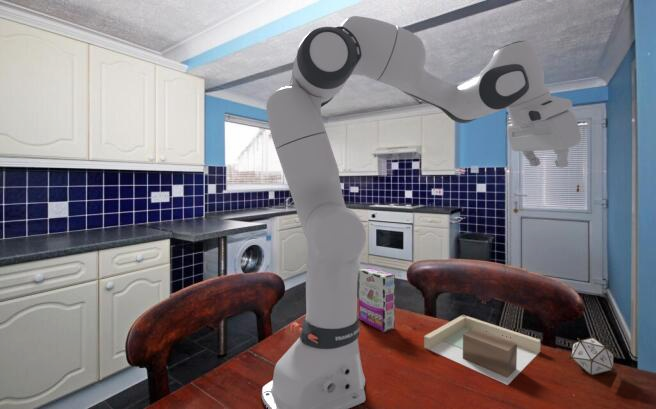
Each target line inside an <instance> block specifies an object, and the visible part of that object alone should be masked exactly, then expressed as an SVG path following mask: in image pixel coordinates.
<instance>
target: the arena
mask: <svg viewBox="0 0 656 409" xmlns="http://www.w3.org/2000/svg"><path fill="white" fill-rule="evenodd" d="M463 325H464V326H463ZM472 328H474V329H477V330H480V331H483V332H486V331H487V332H486V333H489V334H491V335H494V336H497V337H500V338H503V339H506V340H509V341H512V342H514V343H517V363H516V370H515V371H514V372H513V373H512V374H511V375H510V376H509V377H508V378H506V377H504V376H502V375H500V374H497V373H495V372H493V371H490V370H488V369H486V368H483V367H481V366H479V365H477V364H474V363H472V362H470V361H467V360H465V359H463V334H465V333H466V332H468V331H469V330H471V329H472ZM502 335H503V336H502ZM506 336H507V337H506ZM510 337H511V338H510ZM423 338H424V340H423V348H424V349H425V350H429V351H431V352H433V353H435V354H437V355H439V356H442V357H444V358H447V359H449V360H451V361H454V362H455V363H458V364H460V365H462V366H464V367H466V368H468V369H471V370H473V371H475V372H478V373H480V374H481V375H484V376H486V377H489V378H490V379H493V380H495V381H498V382H500V383H502V384H504V385H506V386H509V384H511V382H512V381H513V380H514V379H515V378H516V377H517V376H518V375H519V374H521V372H522V371H523V370H524V369H525V368H527V366H528V365H529V364H530V363H531V362H532V361H533V360H534V359H535V358H536V357H537V356H538V355H539V354H540V352H541V339H540V338H535V337H533V336H530V335H526V334H523V333H521V332H517V331H514V330H511V329H508V328H505V327H502V326H498V325H497V324H493V323H489V322H486V321H483V320H481V319H478V318H474V317H470V316H468V315H465V314H462V315H460V316H458V317H456V318H454V319H453V320H451V321H449V322H447V323H445V324H443V325H442V326H440V327H438V328H437V329H435V330H432V331H431V332H429V333H427V334H425V335H424V336H423Z"/></svg>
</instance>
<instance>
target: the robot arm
mask: <svg viewBox="0 0 656 409" xmlns="http://www.w3.org/2000/svg"><path fill="white" fill-rule="evenodd" d="M426 59H427V56H426V49H425V44H424V43H423V41H422V38H421V37H419V36H418V35H416V34H415V33H414V32H412V31H410V30H408V29H405V28H403V27H400V26H398V25H395V24H393V23H390V22H387V21H383V20H379V19H375V18H370V17H365V16H360V15H359V16H358V15H353V16H349V17H347V18H346V19H345V20H344V21H343V22H342V23H341V24H340V25H339V26H335V27H334V26H322V27H318V28H315V29H313V30H311V31H310V32H309V33H308V34H306V36H304V38H303V39H302V41H301V42H300V44H299V46H298V48H297V52H296V57H295V58H294V61H293V64H292V71H291V78H290V83H289V84H288V85H287V86H285V87H281V88H279V89H277V90H276V91H274V92H273V93H272V94H271V95H270V96H269V97H268V99H267V102H266V106H265V107H266V115H267V121H268V126H269V130H270V134H271V135H270V136H271V139H272V142H273V145H274V146H273V147H274V149H275V151H276V154H277V157H278V161H279V163H280V166H281V169H282V171H283V175H284V178H285V180H286V183H287V186H288V189H289V192H290V195H291V198H292V202H293V204H294V207H295V211H296V213H297V216H298V219H299V222H300V225H301V229H302V232H303V235H304V236H305V238H306V243H307V255H306V256H307V261H306V262H307V263H306V278H305V279H306V280H305V300H306V301H305V303H306V304H305V305H306V306H305V308H306V310H305V311H306V315H305V317H304V321H303V322H302V324H299V323H298V322H296V321H294V322H292V323H291V325H290V327H289V328H290V331H291V332H292V333H294V334H295V335H299V336H298V337H299V338H297V340H296V341H295V342H294V343H292V345H291V346H290V348H289V349H288V350H287V351H286V352H285V353H284V354H283V355H282V356H281V358H279V360H277V362H276V364H275V366H274V370H273V376H272V380H271V381H269V382H267V383H266V384H265V385H264V386H262V389H261V400H262V402H263V404H264V406H265V405H266V406H265V408H267V407H268V409H350V408H351V409H352V408H353V407H356V406H358V405H360V404H362V403H365V401H366V391H365V385H366V378H365V375H364V374H365V373H364V372H363V366H362V361H361V354H360V347H359V339H358V338H359V337H360V331H361V330H360V329H361V328H360V327H361V326H360V320H359V314H358V282H359V270H360V267H361V263H362V261H361V260H362V255H363V249H364V248H365V244H366V238H367V236H366V229H365V226H364V224H363V222H362V219H361V218H360V217H359V216H358V214H357V213H356V212H355V211H354V210H352V209H351V208H349V207H347V205H346V202H345V199H344V195H343V190H342V185H341V180H340V173H339V172H340V171H339V167H338V164H337V161H336V158H335V154H334V152H333V149H332V146H331V142H330V139H329V136H328V133H327V129H326V126H325V125H324V121H323V119H322V114H321V113H322V112H321V108H322V107H324V106H325V105H326V104H328V103H330V102H331V101H332V99H334V97H335V96H337V95H338V93H340V92H341V91H342V89H343V87H344V86H345V84H346V82H347V81H348V79H349V78H350V77H351V76H353V75H354V76H355V75H358V76H364V77H366V78H369V79H371V80H374V81H377V82H379V83H383V84H386V85H388V86H390V87H393V88H396V89H398V90H400V91H401V92H402V93H405V94H406V95H409V96H411V97H413V98H415V99H418V100H420V101H422V102H425V103H427V104H429V105H431V106H434V107H435V108H438V109H439V110H441V111H442V112H444V114H445V115H446V116H447V117H448V118H450V119H451V120H452V121H454V122H456V123H458V124H467V123H471V122H472V121H473V122H474V121H475V120H477V119H479V118H483V117H485V116H489V115H492V114H494V113H497V112H500V111H503V110H505V109H507V113H508V116H509V117H508V121H507V126H506V134H507V138H508V143H509V145H510V148H511V150H512V151H513V152H522V154H523V156H524V158H525V159H526V160H527V161H528V163H529V166H530V167H537V166H539V165H541V161H540V158H539V157H537V155H536V154H535V153H534V152H535V151H553V152H554V154H555V155H556V156H557V157H556V160H554V164H555V167H556V168H565V167H568V166H569V161H568V155H569V152H570V151H569V150H570V149H571V148H573V147H575V146H577V145H579V144H580V142H581V139H582V135H581V130H580V127H579V123H578V120H577V117H576V116H575V114H574V112H572V111H570V110H571V109H573V103H572V100H571V99H569V98H565V97H564V98H563V97H558V96H555V95H551V92H550V89H549V88H548V86H547V85H546V83H545V71H544V68H543V65H542V62H541V60H540V57H539V55H538V53H537V50H536V49H535V47H534V45H533V44H532V43H531V42H530V41H528V40H517V41H514V42H511V43H509V44H506V45H504V46H502V47H499V48H498V49H497V50H496V51H494V52H493V55H492V58H491V59H490V61H489V62H488V63H487V65H486V66H485V67H484V68H483V69H482V70H481V71H480V73H478V74H476V75H474V76H472V77H471V78H469V79H467V80H465V81H461V82H456V83H455V82H454V83H453V82H449V81H446V80H444V79H441V78H440V77H437V76H435V75H434V74H431V73H430V72H427V70H426V69H425V68H424V67H425V63H426Z"/></svg>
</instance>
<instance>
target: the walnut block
mask: <svg viewBox="0 0 656 409" xmlns="http://www.w3.org/2000/svg"><path fill="white" fill-rule="evenodd" d="M463 359H465V360H467V361H470V362H472V363H474V364H477V365H479V366H481V367H483V368H486V369H488V370H490V371H493V372H495V373H497V374H500V375H502V376H504V377H506V378H508V377H509V376H510V375H511V374H512V373H513V372H514V371H515V370H516V363H517V343H514V342H512V341H509V340H506V339H503V338H500V337H497V336H494V335H491V334H489V333H486V332H483V331H480V330H477V329H474V328H472V329H471V330H469V331H468V332H466V333H465V334H463Z"/></svg>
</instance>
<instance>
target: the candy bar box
mask: <svg viewBox="0 0 656 409" xmlns="http://www.w3.org/2000/svg"><path fill="white" fill-rule="evenodd" d="M395 290H396V274H394V273H391V272H387V271H383V270H379V269H377V268H373V267H364V268H361V269H360V268H359V274H358V304H359V305H358V310H359V311H358V313H359V314H358V317H359V319H360V320H362V321H364V322H365V323H364V322H363V323H364V324H366V323H367V325H368V324H369V326H370V325H371V326H370V327H372V326H373V328H374V329H377V330H379V331H381V332H383V333H386V332H388V331H391V330H394V329H395V327H396V326H395V325H396V323H395V321H396V310H395V309H396V303H395V302H396V300H395V299H396V291H395ZM360 320H359V321H360ZM362 321H361V322H362Z"/></svg>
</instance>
